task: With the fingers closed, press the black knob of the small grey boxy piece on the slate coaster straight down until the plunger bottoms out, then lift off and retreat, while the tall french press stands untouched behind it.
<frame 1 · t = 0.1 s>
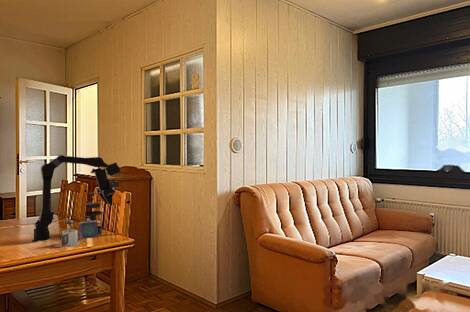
hand: (109, 204, 204), 15 cm above the table, tool pointing down, fingers open, 9 cm apart
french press: (94, 233, 200), on the table
grey boxy piece: (69, 244, 174), resting on coaster
coaster: (69, 245, 174), on the table
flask: (88, 239, 188), on the table
plunger: (69, 227, 174), point 9 cm above the table, slide at 0.0 cm
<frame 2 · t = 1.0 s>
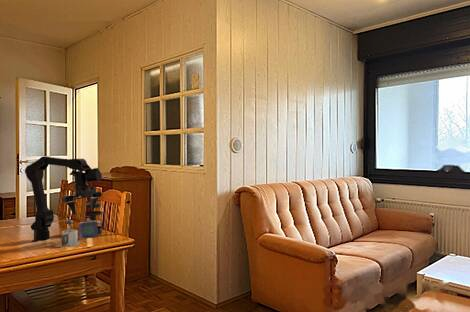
hand: (83, 213, 182), 14 cm above the table, tool pointing down, fingers open, 9 cm apart
nothing on the table moved.
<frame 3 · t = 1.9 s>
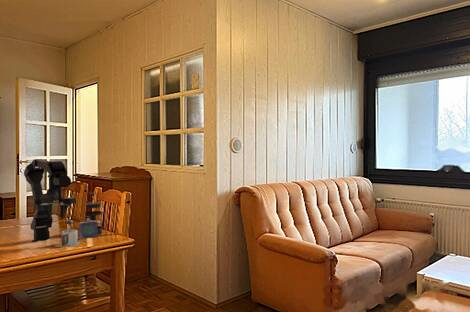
hand: (55, 218, 175), 13 cm above the table, tool pointing down, fingers open, 6 cm apart
nothing on the table moved.
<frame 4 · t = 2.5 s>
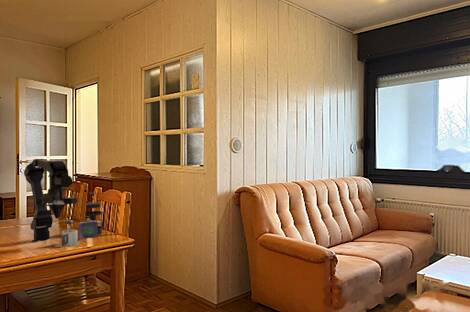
hand: (57, 218, 175), 13 cm above the table, tool pointing down, fingers closed
nothing on the table moved.
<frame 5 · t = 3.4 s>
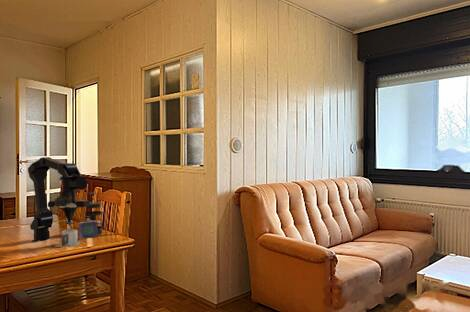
hand: (69, 221, 174), 12 cm above the table, tool pointing down, fingers closed, pressing on plunger
plunger: (69, 227, 174), point 9 cm above the table, slide at 0.2 cm, touching gripper
everything else where it was.
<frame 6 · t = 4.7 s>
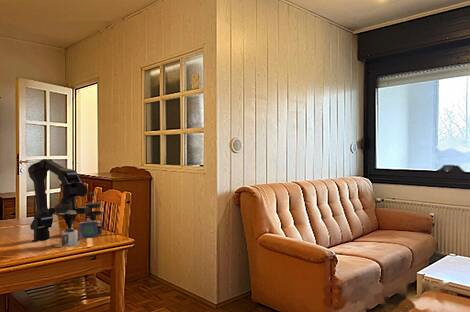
hand: (69, 227, 174), 8 cm above the table, tool pointing down, fingers closed
plunger: (69, 234, 174), point 5 cm above the table, slide at 3.5 cm
everything else where it was.
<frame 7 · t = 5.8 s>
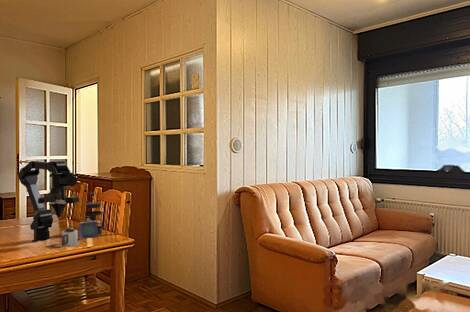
hand: (58, 217, 179), 13 cm above the table, tool pointing down, fingers closed
nothing on the table moved.
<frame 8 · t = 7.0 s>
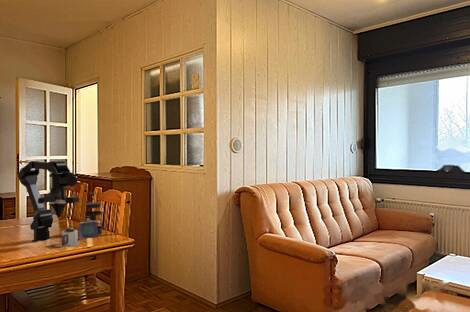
hand: (58, 217, 179), 13 cm above the table, tool pointing down, fingers closed
nothing on the table moved.
at the end: plunger slide at 3.5 cm; plunger touching nothing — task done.
